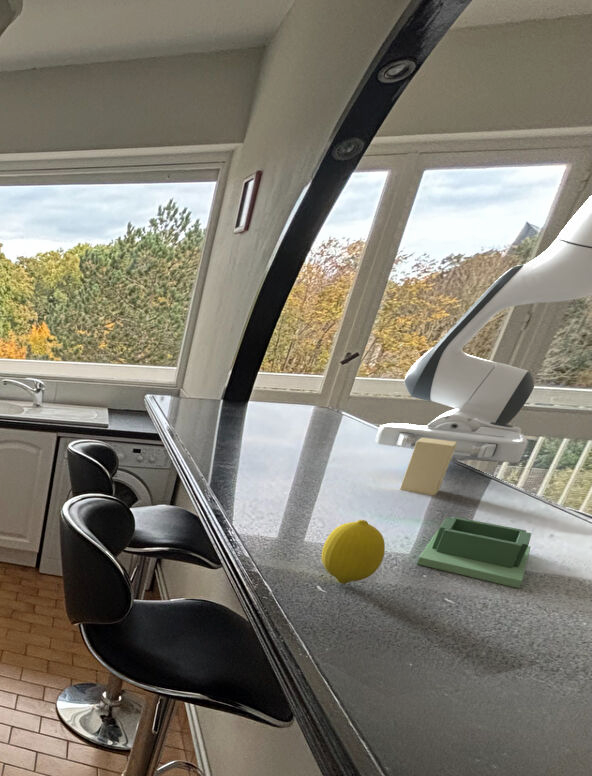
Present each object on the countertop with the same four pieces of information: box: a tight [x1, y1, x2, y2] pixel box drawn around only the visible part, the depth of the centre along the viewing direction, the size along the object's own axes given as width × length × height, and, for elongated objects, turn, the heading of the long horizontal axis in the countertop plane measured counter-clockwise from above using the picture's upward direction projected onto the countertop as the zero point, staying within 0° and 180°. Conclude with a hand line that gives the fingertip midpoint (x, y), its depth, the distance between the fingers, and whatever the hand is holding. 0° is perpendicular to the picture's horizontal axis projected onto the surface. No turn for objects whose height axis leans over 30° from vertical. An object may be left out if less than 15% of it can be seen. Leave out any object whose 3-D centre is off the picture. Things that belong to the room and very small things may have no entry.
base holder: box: [416, 516, 532, 589], centre depth 76 cm, size 16×9×4 cm, turn 131°
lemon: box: [321, 519, 386, 585], centre depth 68 cm, size 6×6×8 cm
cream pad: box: [399, 438, 457, 496], centre depth 99 cm, size 4×4×10 cm
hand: (440, 447), depth 105 cm, fingers open, 8 cm apart
